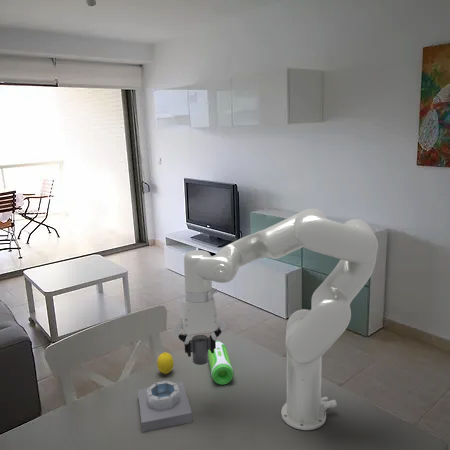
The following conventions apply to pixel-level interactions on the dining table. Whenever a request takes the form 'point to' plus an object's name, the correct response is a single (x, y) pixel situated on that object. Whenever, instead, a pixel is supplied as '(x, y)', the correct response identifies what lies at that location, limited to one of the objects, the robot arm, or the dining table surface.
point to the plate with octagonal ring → (164, 411)
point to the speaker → (220, 364)
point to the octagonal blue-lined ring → (166, 401)
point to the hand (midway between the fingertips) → (200, 352)
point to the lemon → (165, 363)
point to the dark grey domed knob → (200, 349)
